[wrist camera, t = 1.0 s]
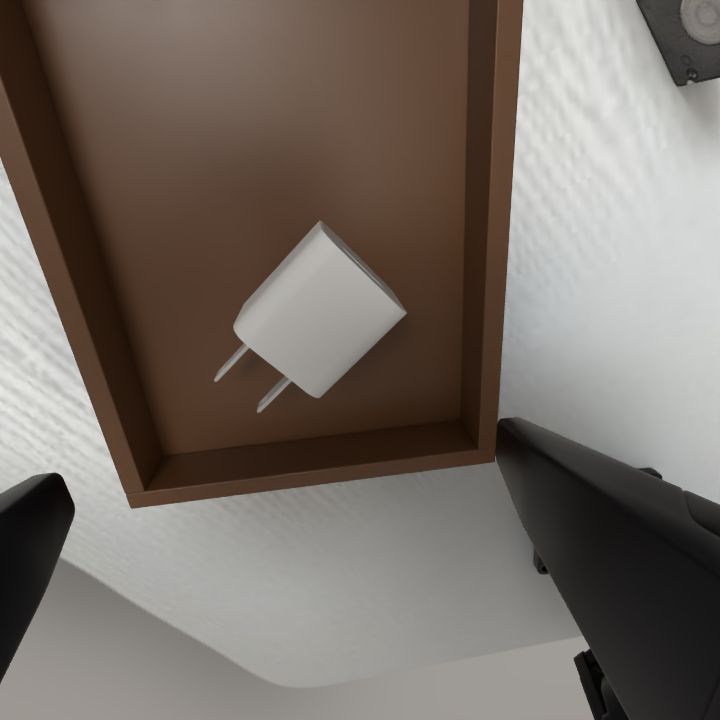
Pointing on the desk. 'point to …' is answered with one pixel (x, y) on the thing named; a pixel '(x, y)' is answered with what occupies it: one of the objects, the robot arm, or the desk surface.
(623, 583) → the robot arm
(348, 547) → the desk surface
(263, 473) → the tray
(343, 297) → the usb wall charger
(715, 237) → the desk surface
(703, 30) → the mini dv tape
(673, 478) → the desk surface
